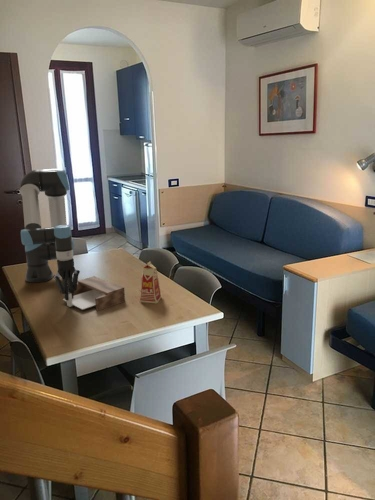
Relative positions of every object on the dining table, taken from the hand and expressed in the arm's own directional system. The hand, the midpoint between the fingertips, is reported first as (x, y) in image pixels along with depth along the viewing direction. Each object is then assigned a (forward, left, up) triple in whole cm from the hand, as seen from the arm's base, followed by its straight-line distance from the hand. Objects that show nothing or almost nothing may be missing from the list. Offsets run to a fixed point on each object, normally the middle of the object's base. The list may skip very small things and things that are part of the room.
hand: (69, 305), depth 197 cm
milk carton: (+21, +33, -1) cm, 39 cm away
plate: (+1, +10, -1) cm, 10 cm away
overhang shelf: (0, +15, -1) cm, 15 cm away
